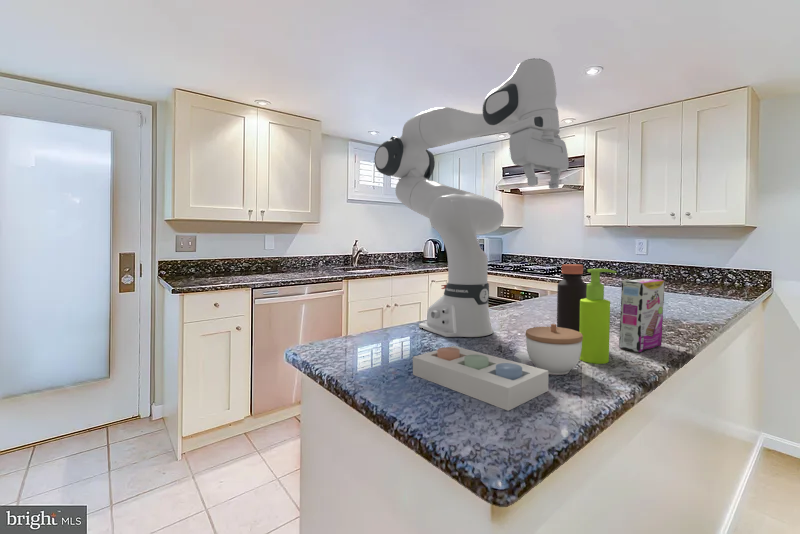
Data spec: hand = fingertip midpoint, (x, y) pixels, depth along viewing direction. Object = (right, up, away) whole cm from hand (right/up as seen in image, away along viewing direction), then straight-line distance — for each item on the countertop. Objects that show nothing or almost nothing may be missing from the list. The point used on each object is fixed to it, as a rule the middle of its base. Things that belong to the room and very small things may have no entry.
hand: (543, 187), depth 92 cm
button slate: (-15, -39, -25) cm, 49 cm away
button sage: (-20, -39, -20) cm, 48 cm away
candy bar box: (+24, -39, +2) cm, 46 cm away
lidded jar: (-3, -40, -13) cm, 42 cm away
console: (-20, -41, -20) cm, 49 cm away
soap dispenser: (+9, -40, -7) cm, 41 cm away
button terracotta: (-24, -39, -14) cm, 48 cm away
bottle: (+9, -39, +6) cm, 40 cm away
